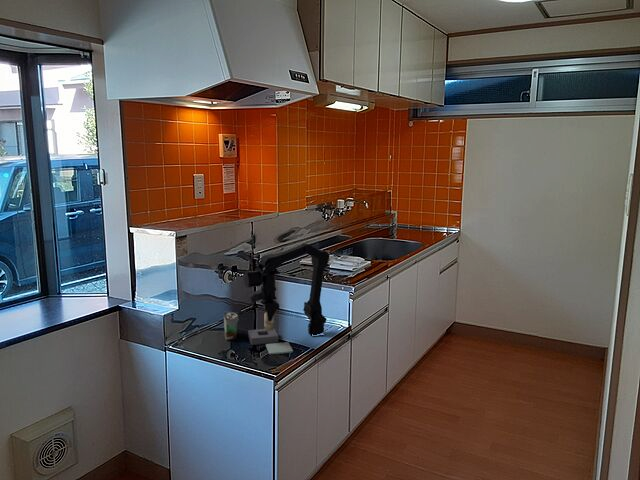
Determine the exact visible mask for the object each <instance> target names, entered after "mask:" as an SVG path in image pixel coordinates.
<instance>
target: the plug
mask: <svg viewBox="0 0 640 480" xmlns="http://www.w3.org/2000/svg"><path fill="white" fill-rule="evenodd" d="M263 315H264V316H263V317H264V318H263V319H264V321H263V322H264V324H263V325H264V328H263V329H264V330H266V331H272V330H274V327H275V326H274V322H275V321H274V319H275V318H274V316H275V315H274V316H273V318H272V320H271V321H268V316H267V313H266V312H264V314H263Z"/></svg>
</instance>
